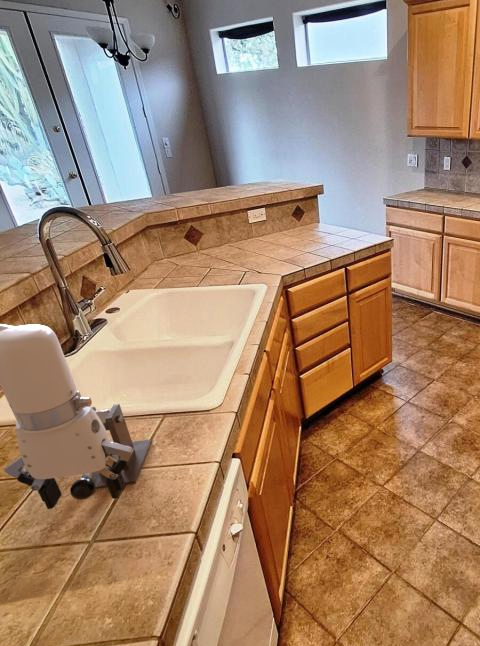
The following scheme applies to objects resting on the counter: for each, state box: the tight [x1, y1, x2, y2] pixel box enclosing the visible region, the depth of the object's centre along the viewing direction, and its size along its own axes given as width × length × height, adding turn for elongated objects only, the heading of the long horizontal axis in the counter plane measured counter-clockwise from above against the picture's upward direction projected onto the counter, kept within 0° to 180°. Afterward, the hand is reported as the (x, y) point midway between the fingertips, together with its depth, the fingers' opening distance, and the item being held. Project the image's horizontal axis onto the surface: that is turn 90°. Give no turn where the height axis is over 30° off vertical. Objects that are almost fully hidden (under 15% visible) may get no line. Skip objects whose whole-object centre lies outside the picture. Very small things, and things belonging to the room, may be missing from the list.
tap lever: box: [69, 409, 110, 501], centre depth 73 cm, size 16×3×3 cm, turn 13°
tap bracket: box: [90, 403, 154, 490], centre depth 79 cm, size 12×9×13 cm
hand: (87, 496), depth 69 cm, fingers open, 8 cm apart
